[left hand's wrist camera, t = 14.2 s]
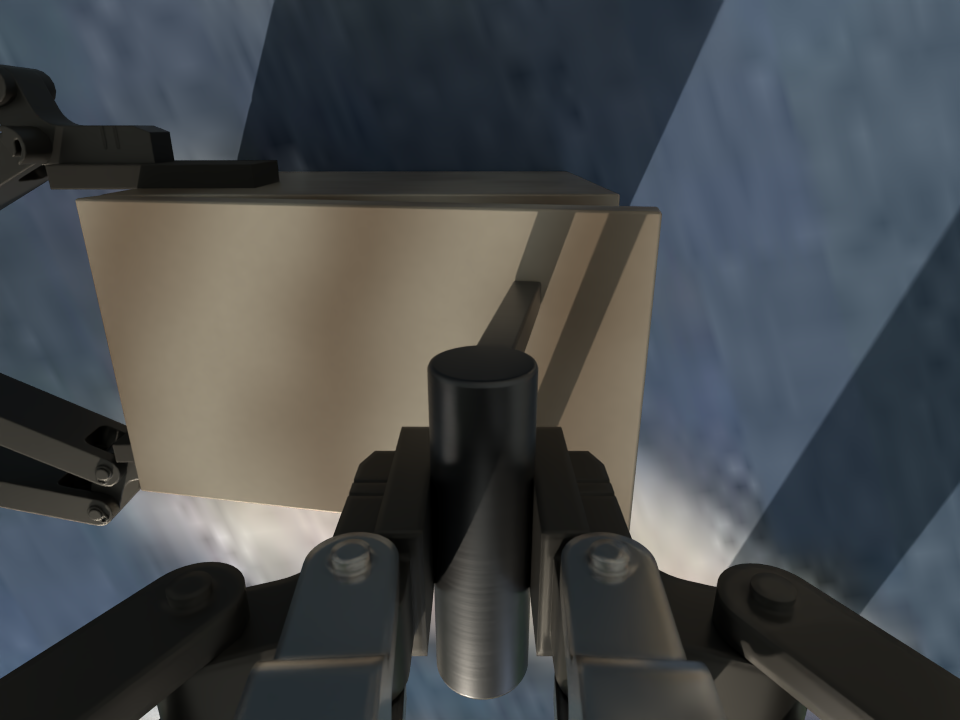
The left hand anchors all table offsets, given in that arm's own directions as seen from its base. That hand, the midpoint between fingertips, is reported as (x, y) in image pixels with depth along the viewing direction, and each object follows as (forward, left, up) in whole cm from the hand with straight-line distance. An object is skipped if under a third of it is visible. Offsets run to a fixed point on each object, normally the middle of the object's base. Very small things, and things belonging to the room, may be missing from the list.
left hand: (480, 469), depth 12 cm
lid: (-2, +2, -6) cm, 7 cm away
